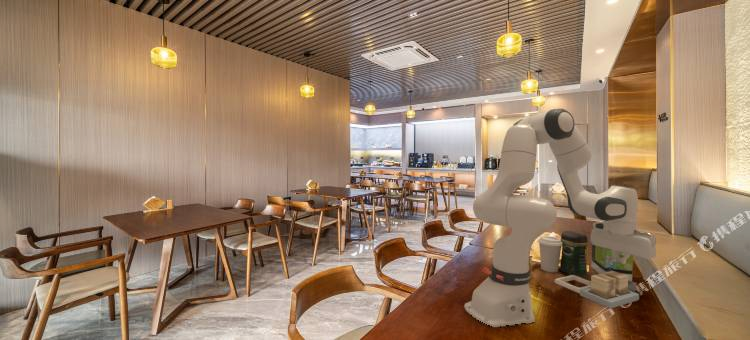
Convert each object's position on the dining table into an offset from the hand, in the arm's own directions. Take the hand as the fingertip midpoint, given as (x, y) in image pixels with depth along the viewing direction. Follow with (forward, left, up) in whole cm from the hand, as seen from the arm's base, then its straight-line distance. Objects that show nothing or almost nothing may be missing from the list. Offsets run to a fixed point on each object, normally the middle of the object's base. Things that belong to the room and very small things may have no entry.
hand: (620, 262), depth 113 cm
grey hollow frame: (-12, -3, -11) cm, 17 cm away
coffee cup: (-7, +24, -11) cm, 27 cm away
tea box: (+14, +11, -11) cm, 21 cm away
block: (-9, -3, -10) cm, 14 cm away
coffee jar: (0, +18, -11) cm, 21 cm away
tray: (-13, +8, -11) cm, 19 cm away
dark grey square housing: (0, 0, -11) cm, 11 cm away
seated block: (-16, -3, -10) cm, 19 cm away
